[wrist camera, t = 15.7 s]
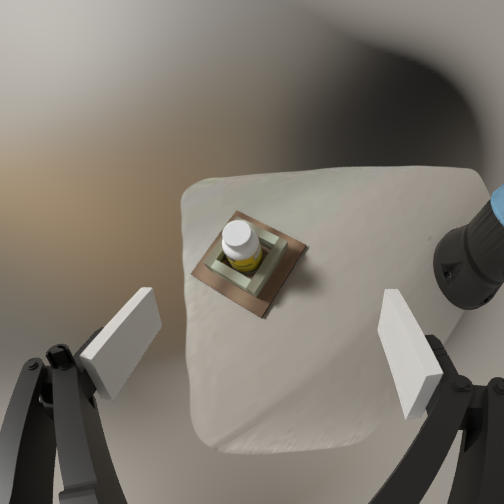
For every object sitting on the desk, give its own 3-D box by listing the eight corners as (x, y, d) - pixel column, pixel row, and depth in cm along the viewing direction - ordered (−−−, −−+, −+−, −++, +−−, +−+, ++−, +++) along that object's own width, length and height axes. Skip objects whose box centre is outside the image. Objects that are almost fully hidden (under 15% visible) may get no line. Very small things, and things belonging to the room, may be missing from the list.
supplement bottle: (225, 269, 47) (210, 244, 39) (237, 241, 49) (226, 210, 40) (256, 279, 46) (247, 255, 37) (268, 250, 48) (262, 220, 39)
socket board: (305, 246, 48) (306, 236, 45) (261, 318, 44) (259, 313, 41) (237, 212, 52) (233, 201, 49) (191, 275, 48) (184, 267, 45)
